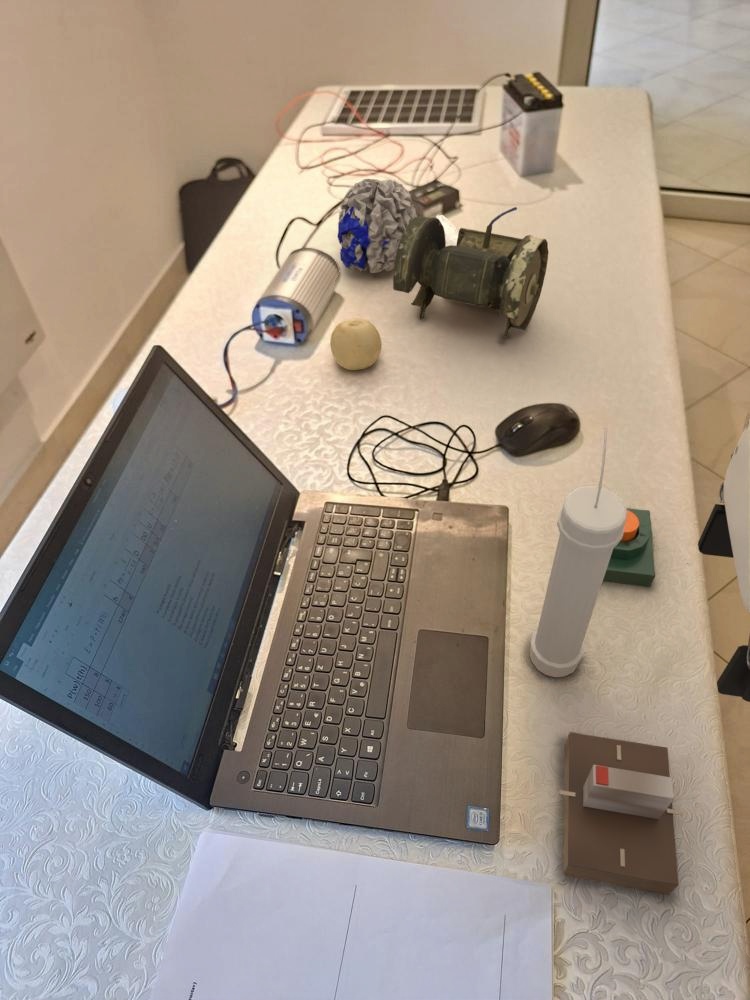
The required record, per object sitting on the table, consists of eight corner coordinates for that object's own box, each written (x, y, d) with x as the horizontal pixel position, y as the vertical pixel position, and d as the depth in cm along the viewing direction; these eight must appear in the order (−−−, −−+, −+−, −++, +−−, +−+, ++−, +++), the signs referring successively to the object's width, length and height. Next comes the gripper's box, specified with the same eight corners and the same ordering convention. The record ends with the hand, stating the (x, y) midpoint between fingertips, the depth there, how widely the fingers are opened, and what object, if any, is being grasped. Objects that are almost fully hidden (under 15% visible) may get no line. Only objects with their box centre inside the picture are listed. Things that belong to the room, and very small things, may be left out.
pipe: (527, 677, 77) (574, 480, 54) (527, 626, 81) (570, 424, 59) (581, 682, 76) (650, 485, 54) (578, 631, 80) (641, 429, 58)
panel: (679, 897, 62) (690, 887, 60) (552, 873, 64) (557, 862, 61) (668, 761, 70) (677, 748, 68) (555, 743, 72) (560, 729, 69)
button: (636, 543, 83) (640, 534, 82) (604, 540, 84) (607, 530, 83) (635, 520, 86) (638, 510, 85) (603, 516, 86) (606, 507, 85)
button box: (650, 587, 84) (659, 566, 81) (579, 578, 85) (585, 557, 82) (645, 522, 90) (653, 500, 87) (579, 514, 91) (585, 493, 89)
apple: (346, 383, 110) (323, 338, 107) (342, 372, 118) (320, 329, 115) (392, 359, 110) (370, 313, 107) (385, 349, 117) (364, 306, 114)
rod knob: (657, 799, 65) (673, 776, 61) (659, 819, 64) (675, 797, 60) (583, 786, 66) (593, 763, 62) (583, 806, 65) (593, 784, 61)
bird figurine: (422, 251, 139) (444, 263, 131) (426, 213, 136) (448, 223, 128) (446, 250, 141) (469, 262, 133) (449, 213, 137) (473, 223, 129)
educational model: (339, 296, 138) (321, 248, 124) (356, 207, 143) (340, 151, 129) (411, 300, 135) (401, 250, 121) (425, 209, 140) (417, 152, 126)
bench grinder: (509, 358, 108) (550, 217, 100) (377, 317, 115) (405, 182, 106) (538, 341, 125) (575, 220, 117) (422, 307, 132) (449, 190, 124)
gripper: (1064, 562, 23) (838, 773, 36) (906, 278, 35) (776, 514, 47) (813, 535, 25) (679, 748, 37) (740, 269, 36) (657, 502, 49)
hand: (734, 617), depth 42 cm, fingers open, 9 cm apart
